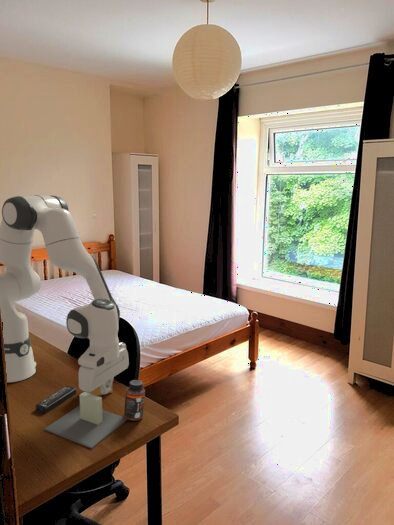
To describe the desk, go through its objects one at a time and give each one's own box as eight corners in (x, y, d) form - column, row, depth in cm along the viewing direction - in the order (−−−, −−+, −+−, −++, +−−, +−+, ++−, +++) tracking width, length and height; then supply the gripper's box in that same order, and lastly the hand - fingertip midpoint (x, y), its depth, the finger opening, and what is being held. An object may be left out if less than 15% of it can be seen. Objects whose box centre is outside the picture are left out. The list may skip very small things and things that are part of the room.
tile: (80, 418, 127) (79, 394, 126) (85, 415, 129) (84, 391, 127) (98, 424, 124) (97, 400, 122) (102, 421, 126) (101, 397, 124)
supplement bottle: (142, 422, 126) (145, 387, 125) (123, 421, 126) (125, 386, 124) (143, 412, 132) (146, 378, 131) (124, 411, 132) (127, 377, 130)
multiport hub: (77, 394, 143) (76, 388, 143) (45, 415, 130) (45, 408, 130) (67, 391, 145) (66, 385, 144) (35, 411, 132) (34, 405, 132)
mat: (44, 430, 122) (44, 428, 122) (82, 404, 136) (82, 403, 136) (91, 449, 114) (91, 447, 114) (127, 419, 128) (127, 418, 128)
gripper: (117, 338, 139) (118, 376, 142) (73, 361, 121) (76, 404, 124) (132, 341, 136) (133, 380, 139) (90, 366, 118) (92, 409, 121)
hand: (106, 392), depth 131 cm, fingers closed
